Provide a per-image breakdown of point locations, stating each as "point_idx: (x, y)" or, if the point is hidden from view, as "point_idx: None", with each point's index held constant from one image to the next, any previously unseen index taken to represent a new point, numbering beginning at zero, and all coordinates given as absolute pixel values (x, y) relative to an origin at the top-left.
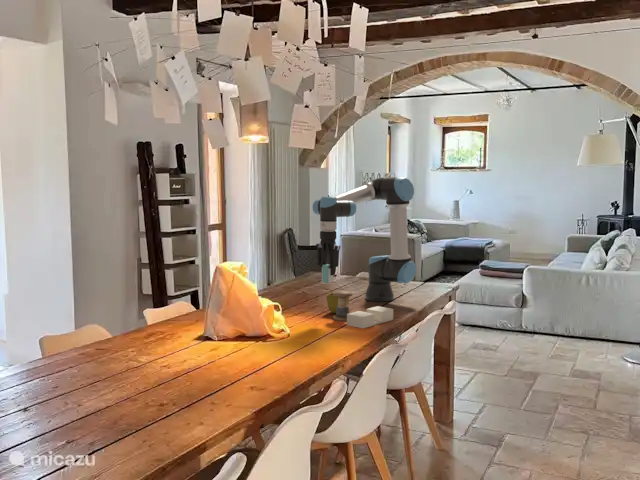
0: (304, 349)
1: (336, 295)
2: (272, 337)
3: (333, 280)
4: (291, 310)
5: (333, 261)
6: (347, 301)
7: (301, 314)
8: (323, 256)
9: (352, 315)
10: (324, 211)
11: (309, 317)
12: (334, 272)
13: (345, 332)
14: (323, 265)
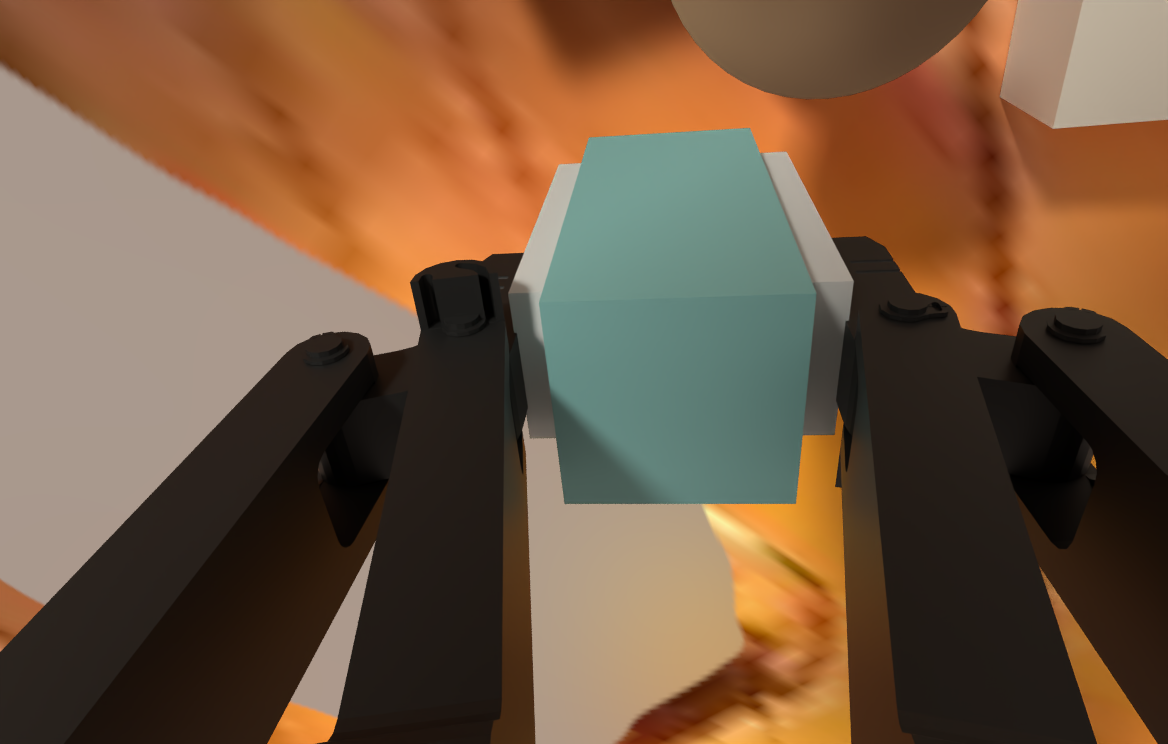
0: (1081, 674)
1: (829, 93)
2: (761, 641)
3: (791, 165)
4: (123, 90)
5: (1084, 594)
6: None
7: (335, 132)
8: (532, 711)
9: (1146, 120)
10: None
11: (489, 158)
12: (894, 266)
13: (1129, 295)
14: (611, 495)
